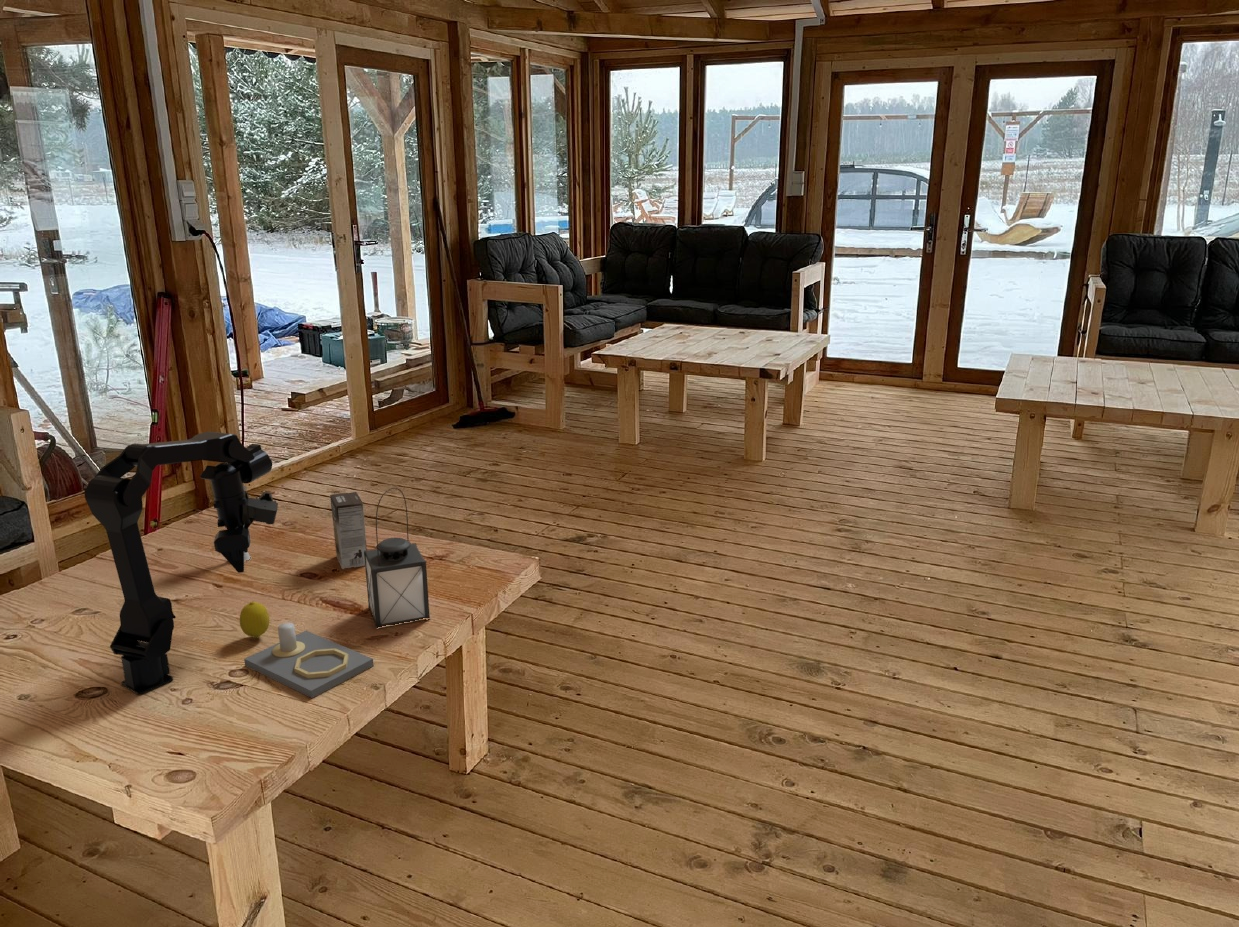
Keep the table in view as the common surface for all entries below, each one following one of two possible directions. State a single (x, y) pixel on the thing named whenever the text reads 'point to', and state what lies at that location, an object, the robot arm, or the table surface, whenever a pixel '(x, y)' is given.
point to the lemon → (254, 619)
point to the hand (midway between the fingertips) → (243, 562)
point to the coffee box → (349, 529)
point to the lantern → (396, 581)
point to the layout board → (307, 661)
